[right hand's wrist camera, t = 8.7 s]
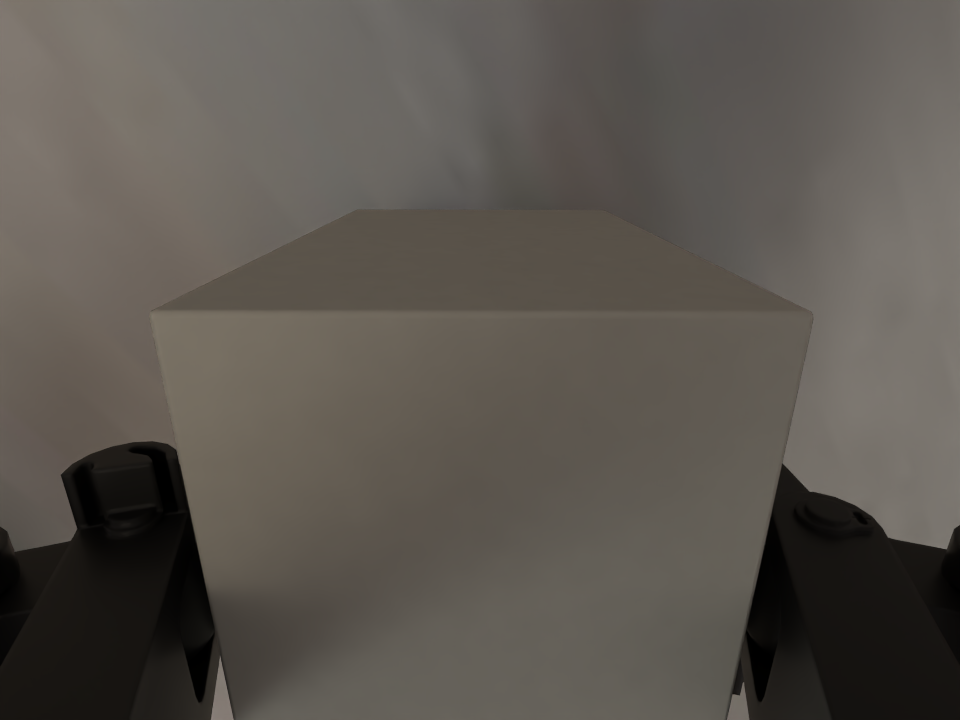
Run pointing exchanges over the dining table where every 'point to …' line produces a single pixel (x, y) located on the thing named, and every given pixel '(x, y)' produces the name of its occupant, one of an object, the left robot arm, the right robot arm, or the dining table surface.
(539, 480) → the beam
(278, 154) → the dining table surface
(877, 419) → the dining table surface
